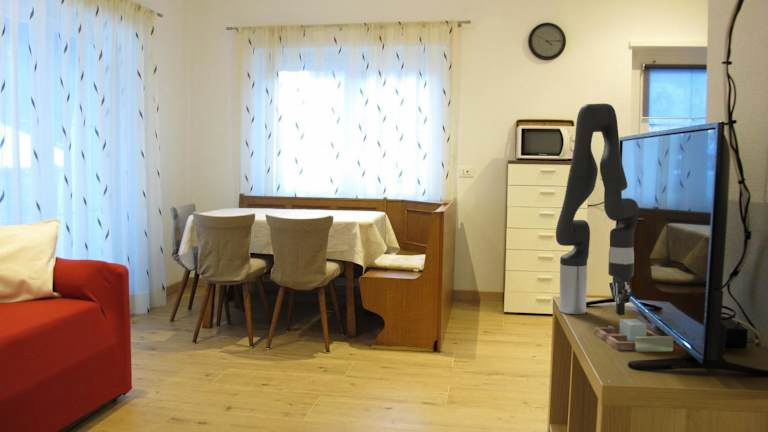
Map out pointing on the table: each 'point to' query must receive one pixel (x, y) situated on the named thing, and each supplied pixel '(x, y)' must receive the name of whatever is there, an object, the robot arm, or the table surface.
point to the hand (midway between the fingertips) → (620, 314)
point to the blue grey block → (632, 328)
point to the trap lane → (641, 343)
